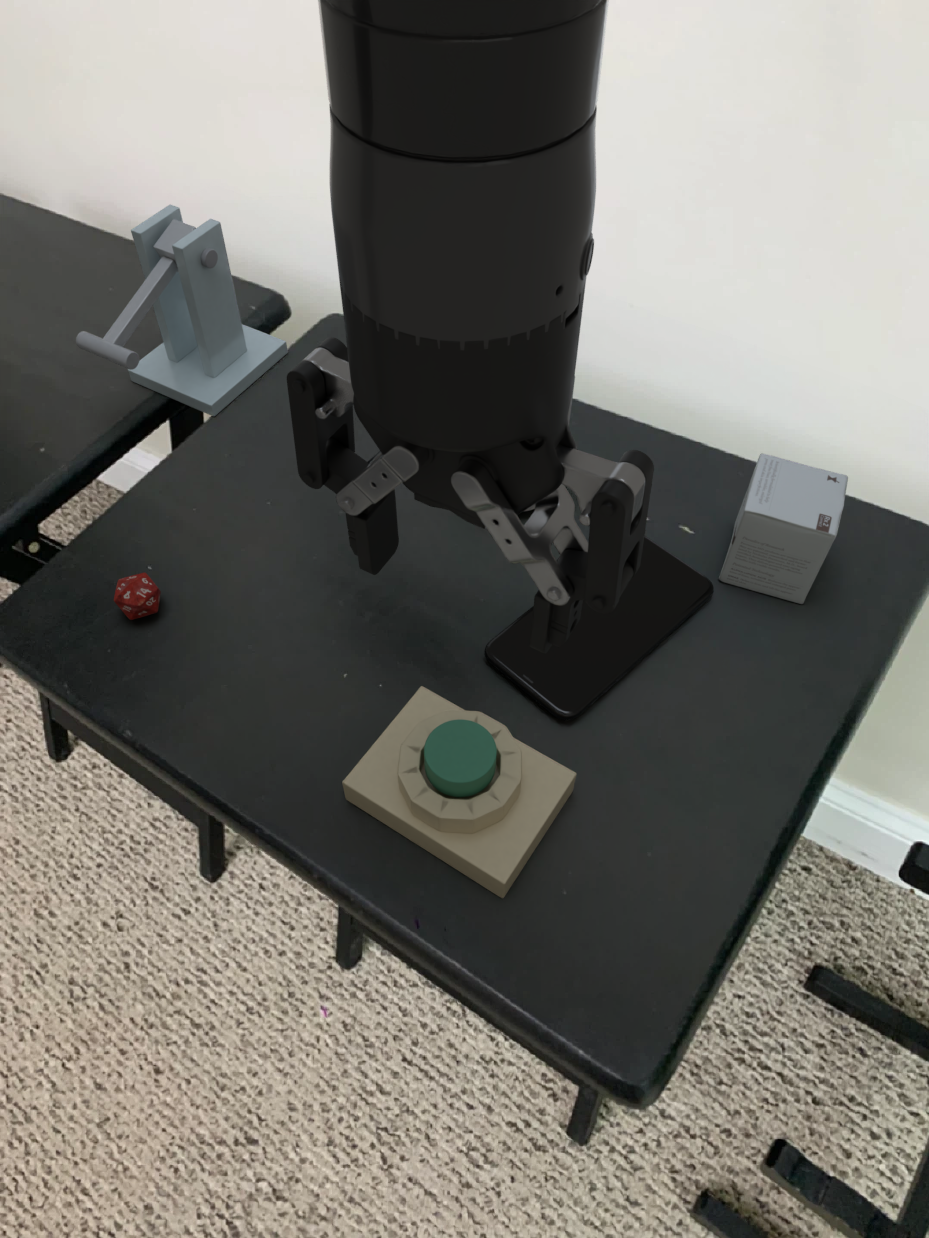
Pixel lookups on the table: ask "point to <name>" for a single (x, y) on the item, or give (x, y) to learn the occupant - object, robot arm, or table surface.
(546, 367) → the robot arm
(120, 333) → the flush lever
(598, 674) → the smartphone
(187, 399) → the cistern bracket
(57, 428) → the table surface
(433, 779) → the flush button
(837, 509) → the white cardboard box
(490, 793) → the green push button box
